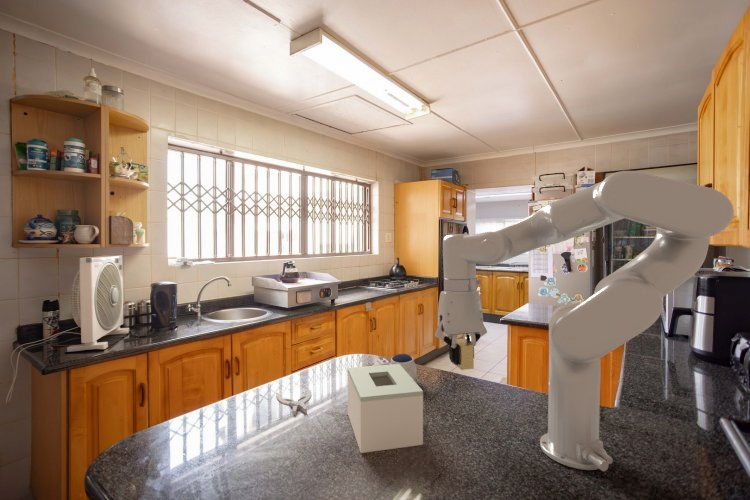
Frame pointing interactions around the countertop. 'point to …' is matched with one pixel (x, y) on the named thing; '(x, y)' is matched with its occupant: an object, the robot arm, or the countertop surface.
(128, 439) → the countertop surface
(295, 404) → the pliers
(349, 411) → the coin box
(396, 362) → the toy
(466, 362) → the block
